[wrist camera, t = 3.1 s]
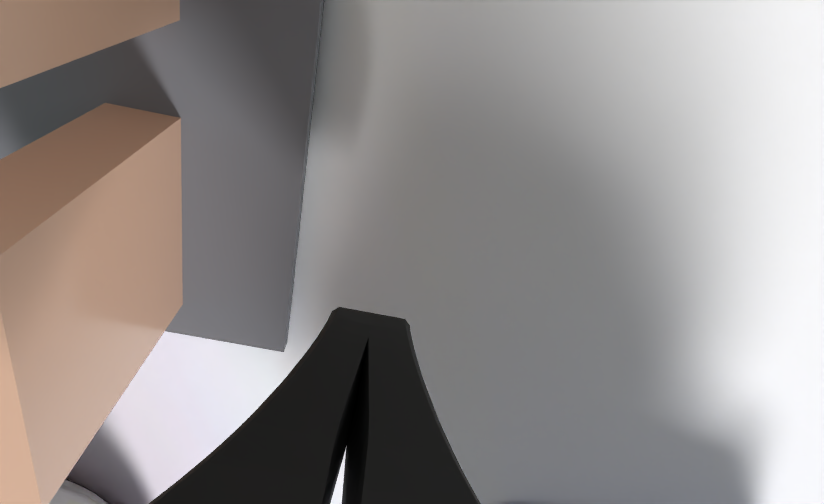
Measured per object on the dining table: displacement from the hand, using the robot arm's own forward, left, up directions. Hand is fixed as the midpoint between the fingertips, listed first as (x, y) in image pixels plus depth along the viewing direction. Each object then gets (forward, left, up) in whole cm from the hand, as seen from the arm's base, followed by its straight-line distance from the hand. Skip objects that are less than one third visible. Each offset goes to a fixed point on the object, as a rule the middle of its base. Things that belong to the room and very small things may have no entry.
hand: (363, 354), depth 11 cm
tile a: (+6, 0, -4) cm, 7 cm away
